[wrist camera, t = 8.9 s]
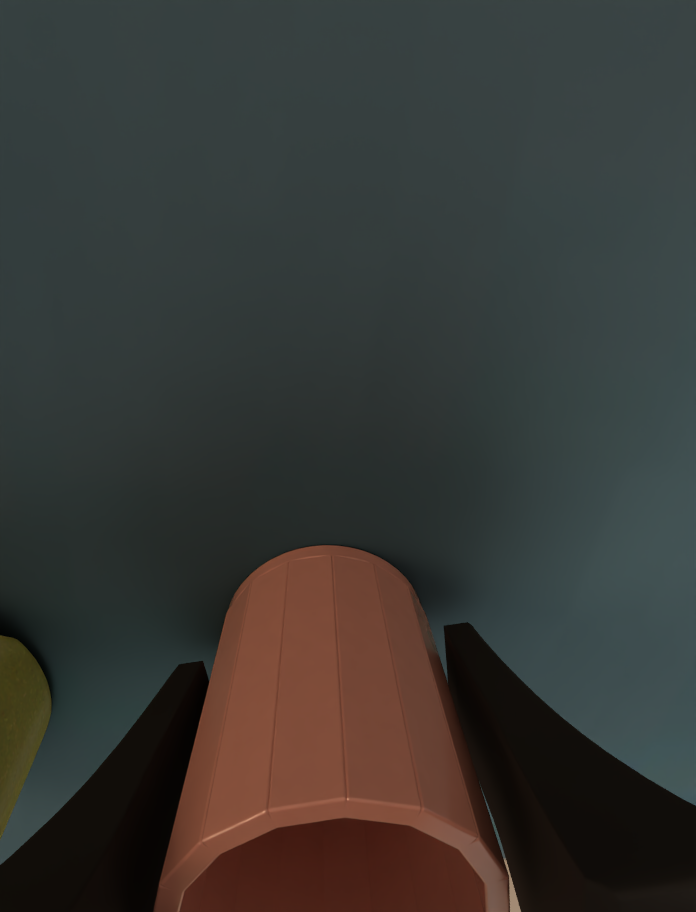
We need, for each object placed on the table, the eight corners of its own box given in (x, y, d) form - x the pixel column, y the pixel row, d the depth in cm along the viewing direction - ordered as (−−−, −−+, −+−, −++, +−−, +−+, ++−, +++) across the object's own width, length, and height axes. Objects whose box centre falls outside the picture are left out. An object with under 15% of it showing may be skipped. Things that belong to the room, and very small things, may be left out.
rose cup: (415, 530, 14) (507, 774, 7) (430, 691, 16) (513, 998, 9) (205, 560, 14) (104, 835, 7) (246, 718, 16) (197, 1048, 9)
